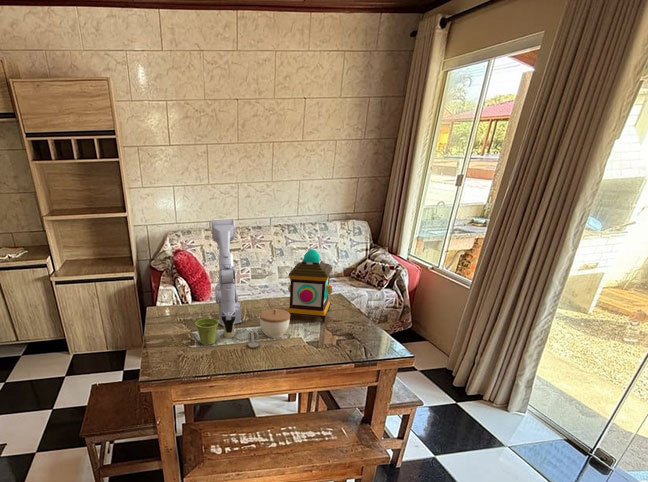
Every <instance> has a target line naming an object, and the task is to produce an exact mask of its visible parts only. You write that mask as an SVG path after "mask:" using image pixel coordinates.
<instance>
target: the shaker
mask: <svg viewBox="0 0 648 482" xmlns="http://www.w3.org/2000/svg"><path fill="white" fill-rule="evenodd" d="M223 316H225V315H223ZM231 317H234V315H232V316H231ZM235 333H236V332H235V324H234V323H233V328H232V332H231V333H227V332H226V328H225V324H224V326H223V337H225V338H227V339H231V338H234V337H235V335H236V334H235Z"/></svg>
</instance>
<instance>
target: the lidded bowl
mask: <svg viewBox="0 0 648 482" xmlns="http://www.w3.org/2000/svg"><path fill="white" fill-rule="evenodd" d="M290 319H291V315H290V313H289V312H288V311H287V310H286V309H281V308H269V309H264V310H262V311H260V313H259V326H260V329H261V331H262V332H263V333H264V334H265V336H266V337H268V338H270V339H279V338H281V337H283V336H284V334H286V333H287V331H288V330H289V327H290V322H291V320H290Z"/></svg>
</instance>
